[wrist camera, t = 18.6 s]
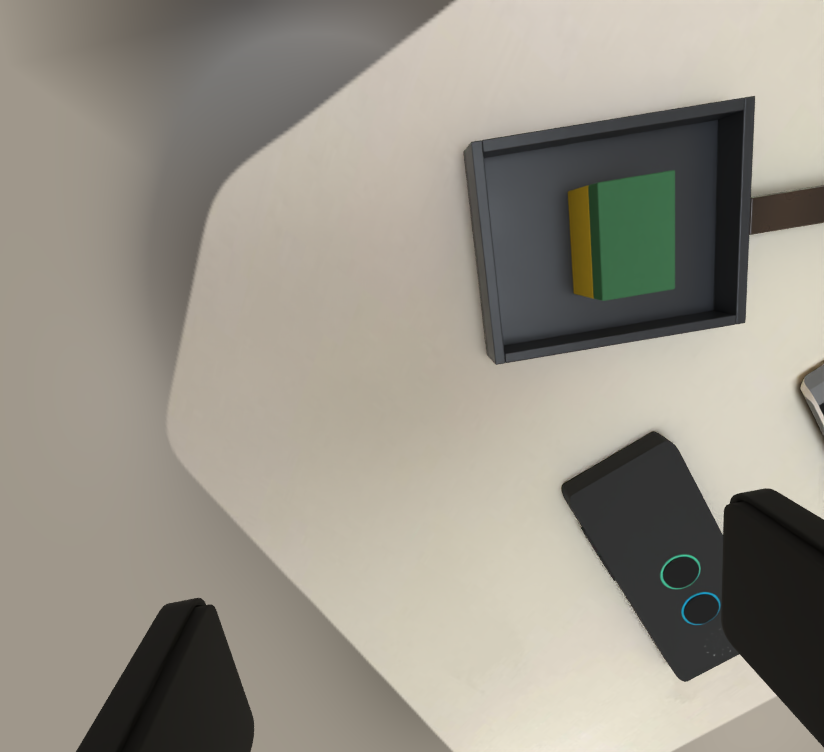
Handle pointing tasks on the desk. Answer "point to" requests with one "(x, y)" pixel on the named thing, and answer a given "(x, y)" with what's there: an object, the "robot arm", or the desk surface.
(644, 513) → the smart home device
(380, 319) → the desk surface
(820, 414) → the cell phone
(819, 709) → the robot arm
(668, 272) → the sponge
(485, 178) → the pan
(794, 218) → the pan handle
